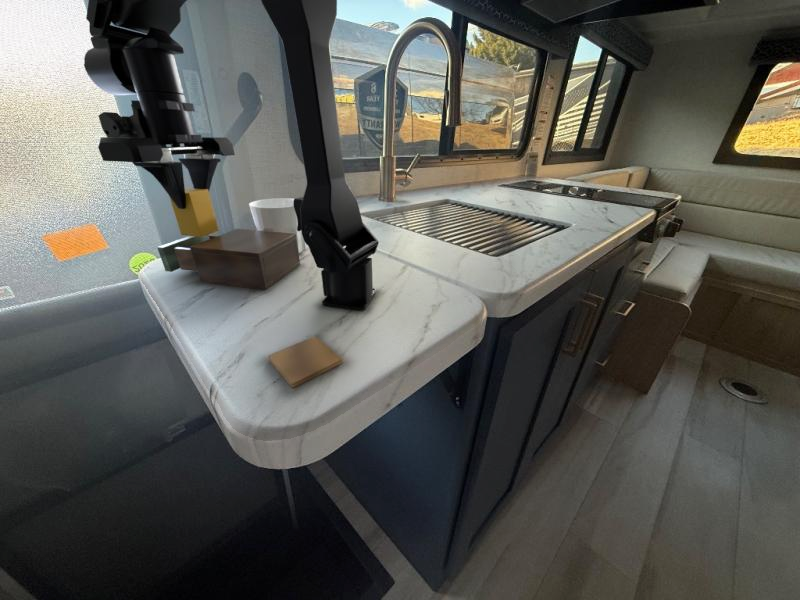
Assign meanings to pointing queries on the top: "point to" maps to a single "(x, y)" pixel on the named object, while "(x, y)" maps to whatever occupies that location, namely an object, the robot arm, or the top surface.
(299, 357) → the coaster
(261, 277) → the cabinet
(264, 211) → the cup
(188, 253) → the drawer
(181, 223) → the block
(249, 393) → the top surface
